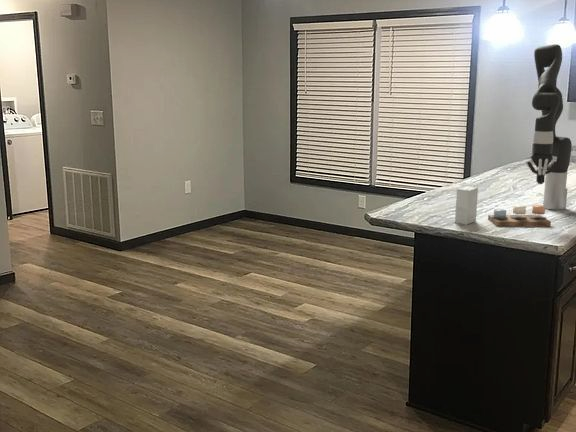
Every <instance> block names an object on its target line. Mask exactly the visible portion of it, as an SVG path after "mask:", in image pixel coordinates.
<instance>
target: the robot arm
mask: <svg viewBox="0 0 576 432" xmlns="http://www.w3.org/2000/svg"><path fill="white" fill-rule="evenodd" d="M533 54H534V55H533V56H534V64H535V69H536V75H537V80H538V81H537V82H538V84H537V89H536V92H535V93H534V95H533V97H532V101H531V106H532V108H533V109H534V110H536V111H541V115H540V116H537V117H536V118H535V126H534V133H533V140H532V142H533V143H532V155H531V157H530V159H529V160H526V161H525V164H526V165H527V168H529V169H530V171H531V172H532V173H533V174H535V175H536V180H535V182H536V183H537V184H538V185H543V184H544V190H543V192H544V193H543V202H542V205H543V206H545V210H546V209H547V210H557V211H558V210H559V211H561V210H566V209H567V201H568V200H567V199H568V188H567V183H568V182H567V179H568V169H569V166H570V163H571V155H572V140H571V139H570V138H569V137H566V136H558V135H557V134H556V126H557V125H556V124H557V123H558V121H559V119H560V117H561V115H562V113H563V110H564V100H563V93H562V92H561V90H560V89H559V88H558V87H557V83H558V82H557V80H558V76H559V74H560V73H559V72H560V70H561V67H562V63H563V51H562V47H561V45H560V44H555V43H554V44H549V45H542V46H537V47H536V48H535V49H534V52H533ZM545 69H546V70H545ZM556 135H557V136H556ZM553 157H556V160H555V159H554V158H553ZM534 165H535V167H534Z"/></svg>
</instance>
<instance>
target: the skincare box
mask: <svg viewBox="0 0 576 432" xmlns="http://www.w3.org/2000/svg"><path fill="white" fill-rule="evenodd" d="M478 195H479V188H478V187H474V186H468V185H465V186H463V187H460V188H456V198H455V199H456V201H455V212H454V213H455V214H454V215H455V217H454V222H455V223H456V224H461V225H466V224H467V225H468V224H472V223H474V222H476V221H477V212H478V210H477V208H478Z"/></svg>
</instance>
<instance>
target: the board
mask: <svg viewBox="0 0 576 432" xmlns="http://www.w3.org/2000/svg"><path fill="white" fill-rule="evenodd" d="M487 220H488V221H489V222H491V223H492V224H493V225H495V226H496V227H551V222H552V221H551V220H549V219H547V217H546V216H542V214H506V218H502V219H501V218H494V214H488V216H487Z"/></svg>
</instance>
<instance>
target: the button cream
mask: <svg viewBox="0 0 576 432" xmlns="http://www.w3.org/2000/svg"><path fill="white" fill-rule="evenodd" d="M526 207H527V206H526V205H523V204H515V205H514V204H513V209H512V213H513V215H526V211H527V208H526Z"/></svg>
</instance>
